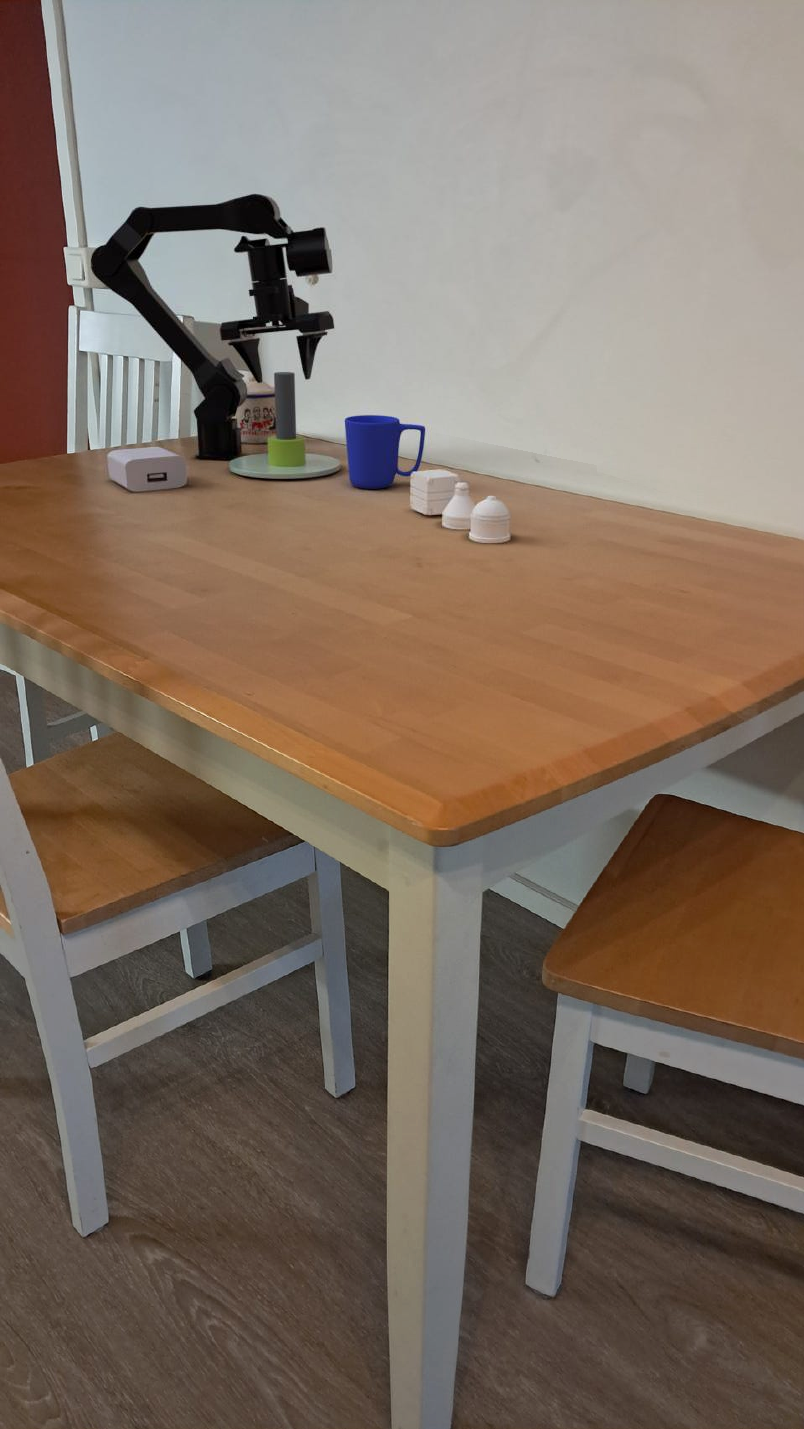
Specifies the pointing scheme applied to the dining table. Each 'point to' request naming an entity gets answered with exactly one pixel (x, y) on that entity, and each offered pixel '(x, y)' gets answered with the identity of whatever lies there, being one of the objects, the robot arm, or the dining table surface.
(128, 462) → the charger
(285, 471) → the plate
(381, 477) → the mug
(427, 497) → the container set
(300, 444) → the sponge wand
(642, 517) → the dining table surface
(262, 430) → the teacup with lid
